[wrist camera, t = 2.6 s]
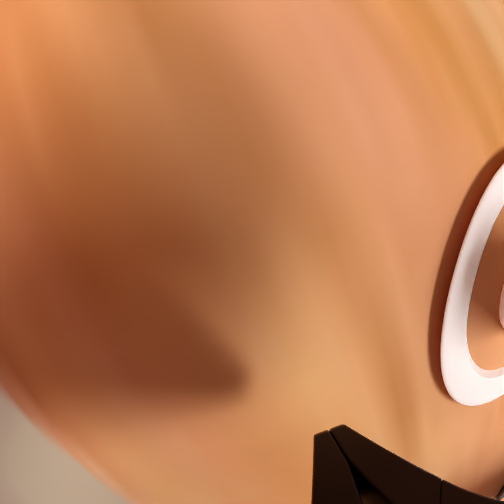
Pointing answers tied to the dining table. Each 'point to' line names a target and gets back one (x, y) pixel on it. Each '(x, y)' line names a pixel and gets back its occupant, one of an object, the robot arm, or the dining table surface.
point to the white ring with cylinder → (456, 312)
